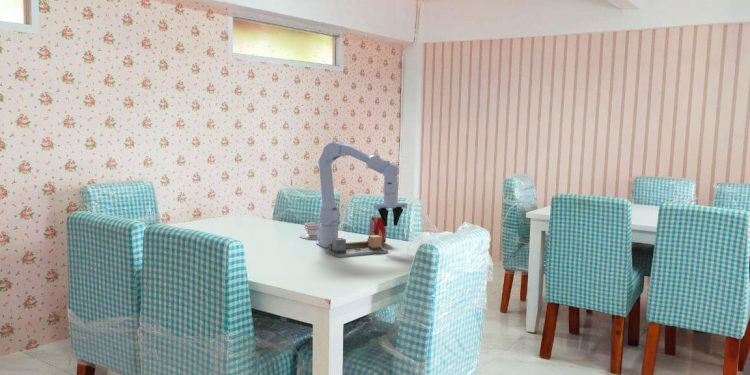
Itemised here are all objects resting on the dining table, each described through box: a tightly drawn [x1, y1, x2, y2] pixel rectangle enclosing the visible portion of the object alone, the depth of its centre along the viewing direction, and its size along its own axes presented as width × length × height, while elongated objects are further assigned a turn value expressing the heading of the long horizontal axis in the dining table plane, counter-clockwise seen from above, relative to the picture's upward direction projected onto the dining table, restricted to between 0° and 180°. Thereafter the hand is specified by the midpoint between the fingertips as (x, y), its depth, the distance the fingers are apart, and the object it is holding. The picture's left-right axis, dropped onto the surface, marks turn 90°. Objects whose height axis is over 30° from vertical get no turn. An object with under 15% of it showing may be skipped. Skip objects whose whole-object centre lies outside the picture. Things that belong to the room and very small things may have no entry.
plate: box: [325, 247, 389, 258], centre depth 258 cm, size 12×22×1 cm, turn 117°
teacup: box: [299, 222, 321, 240], centre depth 290 cm, size 12×12×6 cm
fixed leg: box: [332, 237, 347, 253], centre depth 255 cm, size 7×4×5 cm, turn 27°
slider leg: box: [366, 235, 383, 249], centre depth 262 cm, size 7×4×5 cm, turn 27°
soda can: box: [369, 214, 387, 245], centre depth 276 cm, size 7×7×12 cm
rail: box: [328, 240, 368, 250], centre depth 262 cm, size 2×20×2 cm, turn 117°
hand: (390, 225), depth 264 cm, fingers open, 4 cm apart
